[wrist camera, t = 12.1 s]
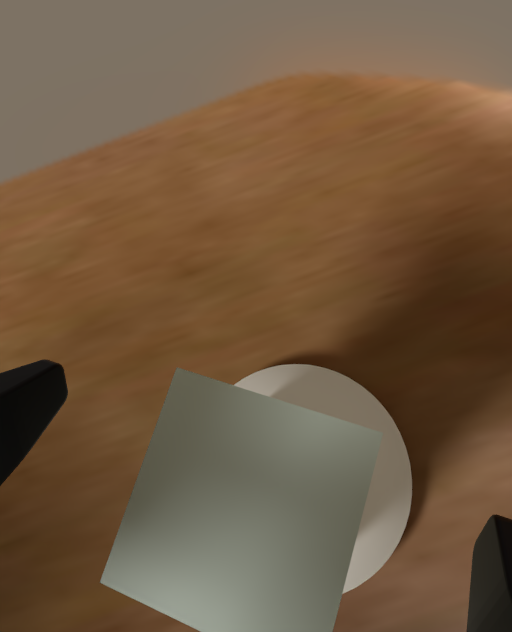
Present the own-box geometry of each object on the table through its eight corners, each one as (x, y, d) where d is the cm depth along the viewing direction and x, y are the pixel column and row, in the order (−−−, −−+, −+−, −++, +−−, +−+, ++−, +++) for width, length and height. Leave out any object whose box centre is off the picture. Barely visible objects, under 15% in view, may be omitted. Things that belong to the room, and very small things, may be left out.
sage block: (365, 437, 20) (382, 432, 10) (335, 553, 19) (317, 687, 9) (260, 403, 21) (176, 367, 11) (227, 510, 20) (99, 582, 10)
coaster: (457, 478, 20) (463, 480, 19) (298, 645, 19) (295, 657, 18) (298, 328, 23) (295, 322, 22) (158, 467, 23) (148, 468, 22)
